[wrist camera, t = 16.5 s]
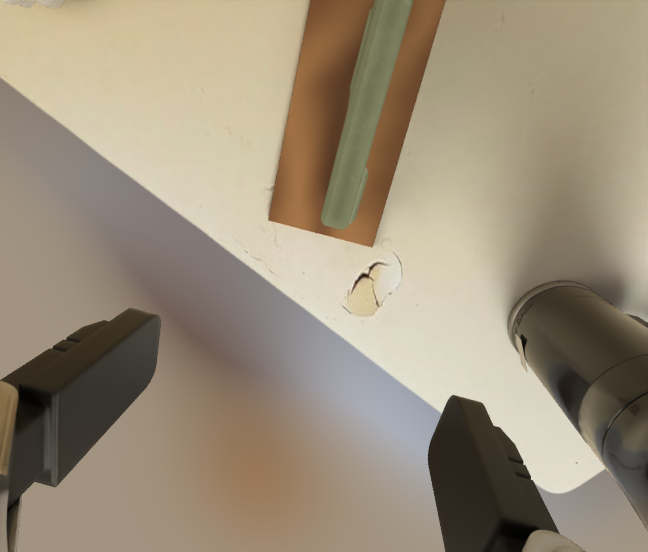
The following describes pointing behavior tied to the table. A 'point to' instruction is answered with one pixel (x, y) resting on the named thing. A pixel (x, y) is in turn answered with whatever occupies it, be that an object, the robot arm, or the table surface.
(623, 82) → the table surface
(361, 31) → the wooden board
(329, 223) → the handheld radio
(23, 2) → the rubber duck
